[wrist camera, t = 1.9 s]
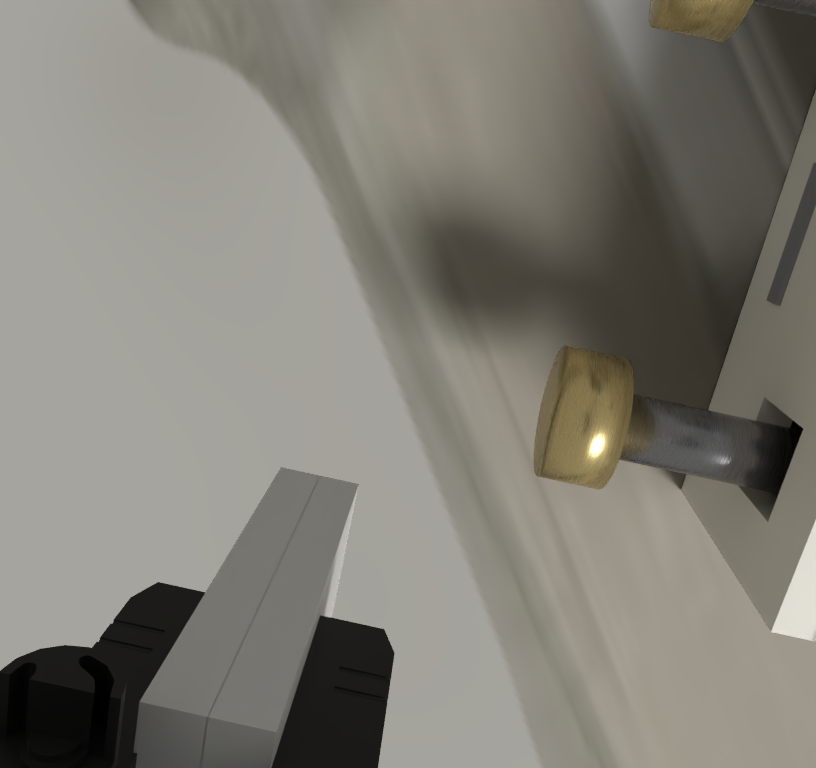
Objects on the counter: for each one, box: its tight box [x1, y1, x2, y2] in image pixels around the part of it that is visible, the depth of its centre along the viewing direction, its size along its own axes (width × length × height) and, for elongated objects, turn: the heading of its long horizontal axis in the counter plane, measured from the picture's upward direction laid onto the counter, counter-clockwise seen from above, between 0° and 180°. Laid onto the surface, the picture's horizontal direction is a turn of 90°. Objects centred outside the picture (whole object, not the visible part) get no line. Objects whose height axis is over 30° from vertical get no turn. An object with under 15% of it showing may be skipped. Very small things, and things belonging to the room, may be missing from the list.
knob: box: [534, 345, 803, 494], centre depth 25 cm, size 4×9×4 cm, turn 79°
